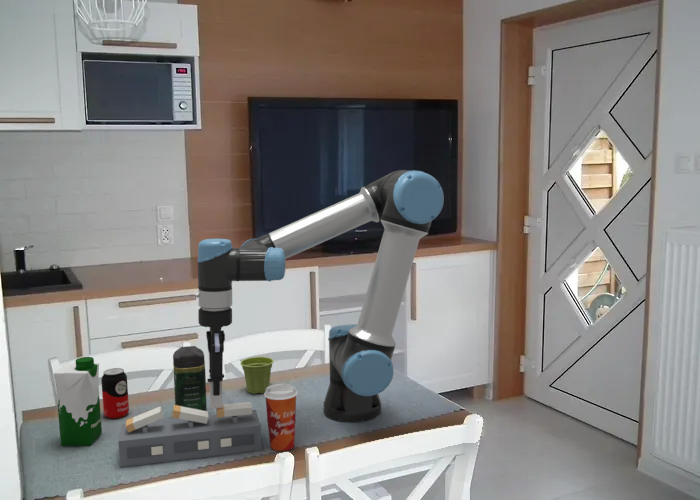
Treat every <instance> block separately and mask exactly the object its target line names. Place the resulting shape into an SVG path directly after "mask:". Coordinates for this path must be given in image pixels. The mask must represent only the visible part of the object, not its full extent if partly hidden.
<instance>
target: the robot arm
mask: <svg viewBox="0 0 700 500" xmlns="http://www.w3.org/2000/svg"><path fill="white" fill-rule="evenodd" d="M444 195H445V194H444V191H443V188H442V186H441V183H440V182H439V181H438V180H437V179H436V178H435V177H434V176H432V175H431V174H429V173H426V172H424V171H421V170H417V169H416V170H414V169H413V170H408V169H398V170H395V171H392V172H390V173H388V174H387V175H384V176H383V177H381V178H379V179H377V180H375V181H373V182H371V183H368V184H367V185H365V186H362V187H361V188H360V191H359V193H356V194H354V195H352V196H350V197H347V198H345V199H344V200H341V201H338V202H337V203H335V204H332V205H330V206H328V207H325V208H323V209H321V210H318V211H316V212H314V213H311V214H308V215H307V216H304V217H303V218H299V220H295V221H294V222H291V223H290V224H286V225H285V226H282V227H280V228H278V229H275V230H273V231H271V232H268V233H267V234H264V235H262V236H260V237H258V238H250V239H247V240H246V241H245V242H244V243H242V245H241V246H240V247H237V248H236V247H233V244H232V241H231V240H230V239H226V238H207V239H202V240H201V241H200V242H199V243H198V245H197V285H198V286H197V288H198V291H197V292H198V293H195V298H197V299H198V307H199V308H198V319H197V320H198V324H199V326H200V327H204V328H209V330H206V333H205V334H206V335H205V336H206V340H207V350H208V356H209V357H208V358H209V359H208V360H209V361H208V362H209V364H208V365H209V369H208V372H209V378H206V380H207V381H206V382H207V383H209V407H210V410H211V409H212V410H213V409H216V408H222V405H223V380H224V378H225V374H224V373H223V366H224V365H223V362H224V359H223V357H224V356H223V353H224V351H225V346H224V344H225V340H226V333H225V331H224V330H222V328H224V327H228V326H230V325H231V324H233V309H232V306H233V282H262V281H263V282H265V281H266V282H267V281H268V282H273V281H281V280H283V279H284V277H285V275H286V259H288V258H291V257H293V256H295V255H298V254H300V253H302V252H304V251H306V250H307V251H308V250H310V249H311V248H314V247H315V246H318V245H320V244H322V243H324V242H326V241H327V242H328V241H329V240H331V239H333V238H335V237H338V236H340V235H342V234H345V233H346V232H348V231H352V230H353V229H356V228H358V227H361V226H362V225H365V224H367V223H369V222H375V223H379V222H381V224H382V226H383V228H384V229H383V234H382V237H381V241H380V244H379V248H378V251H377V254H376V259H375V262H374V265H373V268H372V269H373V270H372V272H371V276H370V279H369V282H368V286H367V290H366V293H365V297H364V300H363V305H362V307H361V312H360V315H359V318H358V320H357V324H356V323H354V324H351V323H350V324H341V325H340V324H339V325H337V326H333V327H331V328H330V329H329V332H328V338H327V339H328V349H329V350H328V352H329V353H328V359H329V386H328V388H327V391H326V395H325V398H324V401H323V413H324V415H325V416H326V417H327V418H329V419H332V420H335V421H337V422H344V423H345V422H347V423H357V422H366V421H370V420H373V419H374V418H377V417H379V416H380V415H381V413H382V401H381V399H380V395H379V394H380V393H381V392H383V391H385V390H386V389H387V388H388V387H389V386H390V384H391V382H392V380H393V378H394V372H395V371H394V364H393V362H392V358H393V355H394V352H395V348H396V344H397V343H396V341H395V338H393V332H394V329H395V326H396V322H397V318H398V314H399V312H400V309H401V305H402V302H403V297H404V295H405V291H406V287H407V284H408V281H409V277H410V273H411V270H412V267H413V263H414V259H415V257H416V253H417V250H418V246H419V242H420V240H421V239H422V238H423V237H425V236H427V235H429V233H430V232H429V231H430V228H431V225H432V221H433V220H435V219H436V218H437V217H438V215H440V214H441V212H442V209H443V207H444V201H445V199H444V198H445V197H444Z"/></svg>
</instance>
